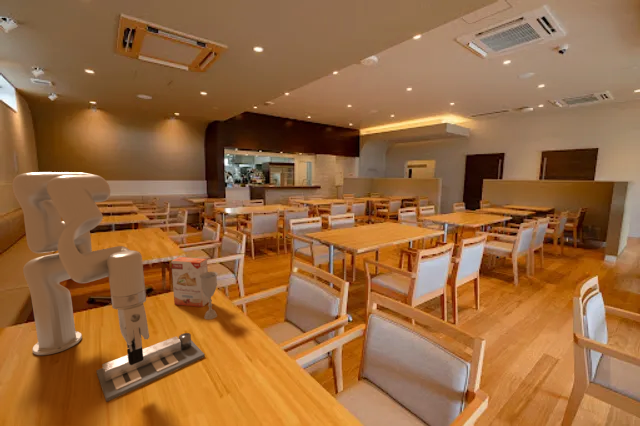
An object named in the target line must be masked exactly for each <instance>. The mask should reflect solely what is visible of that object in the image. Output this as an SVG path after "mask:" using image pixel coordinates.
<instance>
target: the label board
mask: <svg viewBox="0 0 640 426" xmlns="http://www.w3.org/2000/svg"><path fill="white" fill-rule="evenodd" d="M177 338H178V339H179V337H177ZM203 358H206V357H205V353H204V352H203V350H201V348H200V347H198V345H197V344H195V342H194V341H193V340H192V339H191V347H190V348H188V349H186V350H180V351H177V352H175V353H173V354H170V355H168V356H165V357H163V358H161V359H158V360H156V361H153V362H151V363H149V364H146V365H144V366H141V367H139V368H137V369H134V370H132V371H129V372H127V373H125V374H122V375H120V376H117V377H115V378H113V379H110V380H108V381H106V380H105V377H104V374H103V367H101V368H99V369H96V375H97V378H98V381H99V383H100V387H101V389H102V393H103V395H104V399H105V402H106V403H107V402H108V403H109V401H112V400H114V399H116V398H118V397H120V396H123V395H125V394H127V393H129V392H131V391H133V390H136V389H138V388H141V387H142V386H144V385H147V384H149V383H151V382H153V381H155V380H157V379H160V378H161V377H164V376H166V375H168V374H170V373H173V372H175V371H177V370H179V369H181V368H184V367H186V366H188V365H190V364H193V363H194V362H196V361H199V360H200V359H203Z"/></svg>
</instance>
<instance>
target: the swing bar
mask: <svg viewBox="0 0 640 426" xmlns="http://www.w3.org/2000/svg"><path fill="white" fill-rule="evenodd" d="M191 335H192V334H191V333H190V332H185V333H182V334H180V335H179V336H173V337H170V338H168V339H166V340H163V341H160V342H158V343H155V344H152V345H150V346H148V347H144V348H142V350H143V361H140V362H138V363H135V364H133V365H130V364H129V362H128V354H126V355H123V356H121V357H118V358H116V359H113V360H110V361H108V362H105V363H103V364H102V368H103V374H104V377H105V380H106V381H108V380H110V379H113V378H115V377H117V376H120V375H122V374H125V373H127V372H129V371H132V370H134V369H137V368H139V367H141V366H144V365H146V364H149V363H151V362H153V361H156V360H158V359H161V358H163V357H165V356H168V355H170V354H173V353H175V352H177V351H180V350H186V349H188V348H190V347H191V340H192V337H191ZM178 338H179V339H178Z"/></svg>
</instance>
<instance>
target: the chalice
mask: <svg viewBox="0 0 640 426" xmlns="http://www.w3.org/2000/svg"><path fill="white" fill-rule="evenodd" d="M217 277H218V272H216V271H208V272H206V273H203V274H201V275H200V278H201V288H202V290H203V292H204V294H205V295H206V297H208V298H209V300H208V305H207V307H208V310H207V311H206V312H205V314H204V319H205V320H214V319H215V318H217V317H218V314H217V312H216V310H215V309H213V308H212V306H213V303H212V297H213V296H214V294H215V292H216V290H217V286H218V280H217V279H218V278H217Z"/></svg>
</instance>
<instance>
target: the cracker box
mask: <svg viewBox="0 0 640 426" xmlns="http://www.w3.org/2000/svg"><path fill="white" fill-rule="evenodd" d="M206 272H209V271H208V259H207V258H197V257H183V256H179V257H176V258H174V259H172V260H171V273H172V274H171V275H172V286H173V289H172V290H173V302H174V305H175V306H176V305H177V306H188V307H199V308H203V307H205V306H206V305H207V304H209V302H208V300H209V298H208V297H206V295H205V294H204V292H203V290H202V288H201V278H200V275H201V274H203V273H206Z"/></svg>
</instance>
